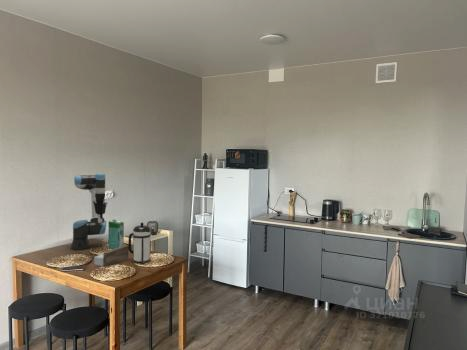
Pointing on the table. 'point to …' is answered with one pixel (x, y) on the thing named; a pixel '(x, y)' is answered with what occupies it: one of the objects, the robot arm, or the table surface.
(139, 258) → the coffee press
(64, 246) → the table surface
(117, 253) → the board
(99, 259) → the block
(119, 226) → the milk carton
